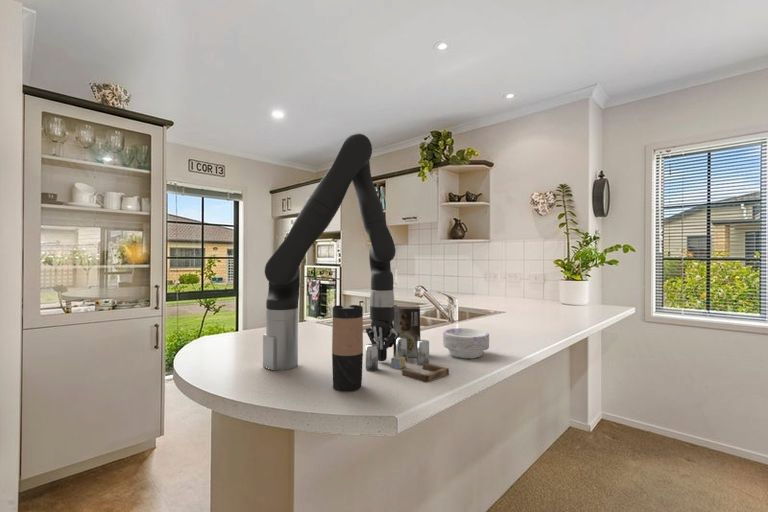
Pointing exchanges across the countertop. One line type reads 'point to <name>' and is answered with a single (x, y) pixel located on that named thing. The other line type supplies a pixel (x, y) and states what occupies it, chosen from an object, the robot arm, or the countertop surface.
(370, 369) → the spacer
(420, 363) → the spacer
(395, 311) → the coffee box
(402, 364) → the alphabet block
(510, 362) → the countertop surface
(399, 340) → the block
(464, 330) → the marble bowl
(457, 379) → the countertop surface
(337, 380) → the travel mug
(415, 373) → the tray
